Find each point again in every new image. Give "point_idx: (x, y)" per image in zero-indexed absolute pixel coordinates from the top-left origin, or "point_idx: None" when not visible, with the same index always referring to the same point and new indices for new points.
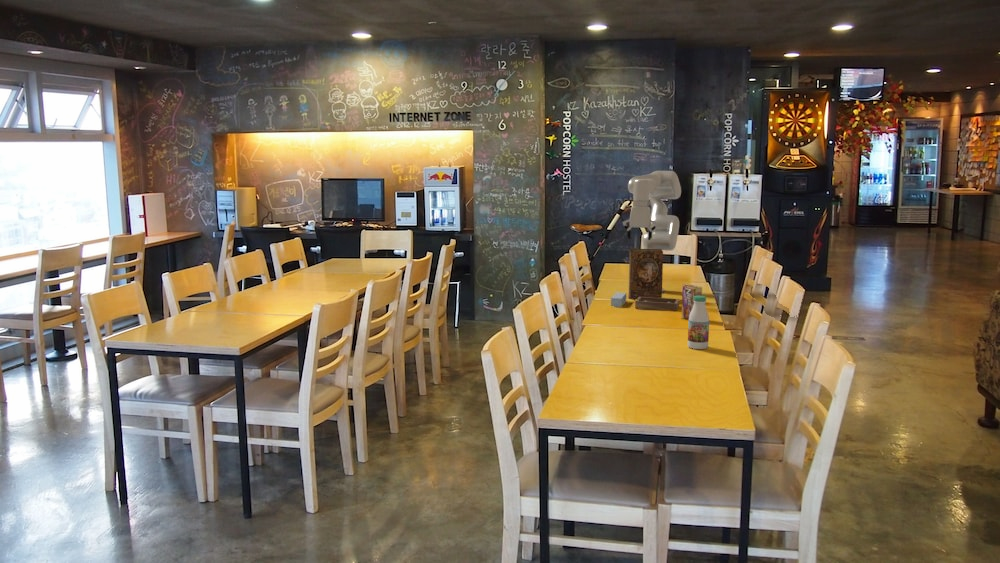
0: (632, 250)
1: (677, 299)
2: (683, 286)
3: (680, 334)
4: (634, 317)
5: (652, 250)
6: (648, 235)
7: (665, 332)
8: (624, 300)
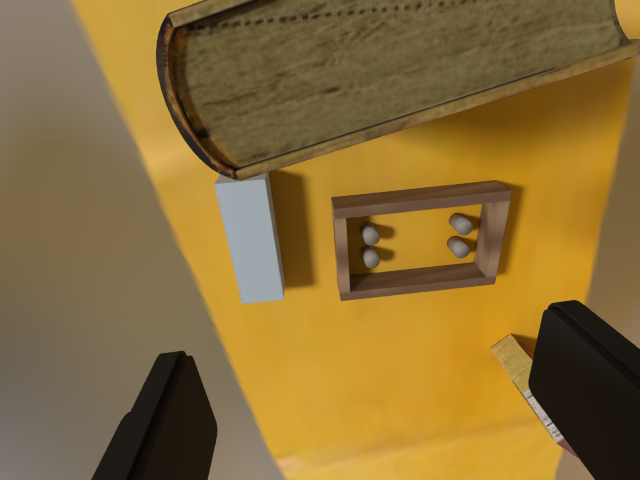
0: (236, 177)
1: (503, 206)
2: (554, 440)
3: (477, 463)
4: (360, 382)
5: (500, 98)
6: (580, 458)
7: (447, 462)
8: (273, 217)
